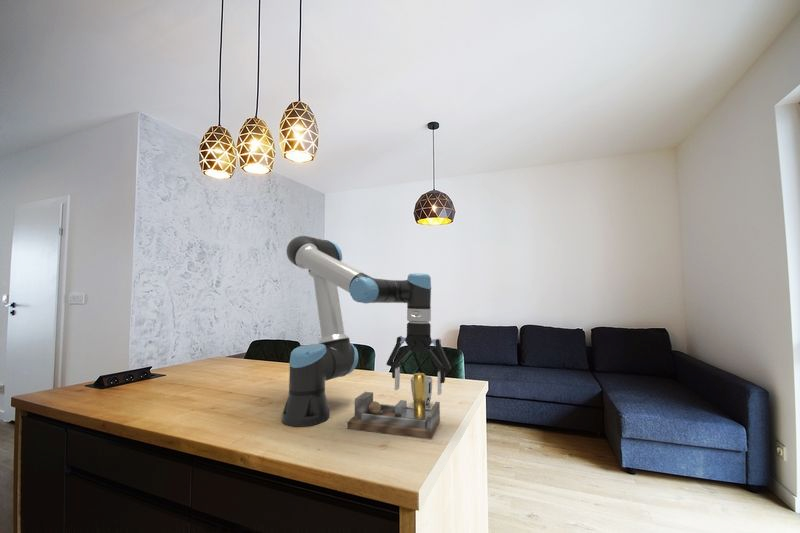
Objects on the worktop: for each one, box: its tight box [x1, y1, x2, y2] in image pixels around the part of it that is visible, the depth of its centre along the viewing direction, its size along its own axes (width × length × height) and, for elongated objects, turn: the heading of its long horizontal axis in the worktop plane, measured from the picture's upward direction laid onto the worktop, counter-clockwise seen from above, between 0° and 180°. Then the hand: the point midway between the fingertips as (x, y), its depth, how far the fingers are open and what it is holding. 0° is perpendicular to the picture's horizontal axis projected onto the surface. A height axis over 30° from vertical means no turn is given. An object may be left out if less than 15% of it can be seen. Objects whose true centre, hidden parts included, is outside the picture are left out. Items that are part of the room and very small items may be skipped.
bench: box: [346, 391, 441, 440], centre depth 99 cm, size 26×14×8 cm, turn 73°
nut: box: [369, 400, 381, 415], centre depth 101 cm, size 4×4×4 cm
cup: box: [410, 375, 433, 409], centre depth 117 cm, size 8×8×10 cm
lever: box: [395, 372, 430, 426], centre depth 98 cm, size 10×8×14 cm
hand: (417, 391), depth 98 cm, fingers open, 13 cm apart
